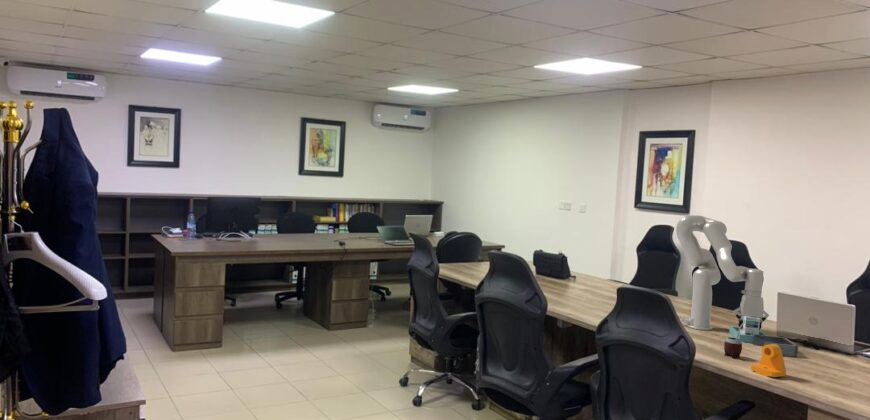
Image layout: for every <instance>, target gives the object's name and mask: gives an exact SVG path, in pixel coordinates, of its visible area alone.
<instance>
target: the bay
mask: <svg viewBox="0 0 870 420" xmlns="http://www.w3.org/2000/svg"><path fill="white" fill-rule="evenodd" d="M767 335H768V334H766V335H757V334H754V339H753V343H752V345H753V346H758V347H760V346H761V347H763V346H764V345H771V344H776V345H778V346H779V347H780V348H781V351H782V355H783V357H790V358H791V357H794V358H798V351H799V345H797V344H796V343H795V342H792V341H791V340H790V339H788V338H787V337H785V336H777V335H775V336H774V335H768V336H767Z"/></svg>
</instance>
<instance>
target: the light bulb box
mask: <svg viewBox="0 0 870 420" xmlns="http://www.w3.org/2000/svg"><path fill="white" fill-rule="evenodd" d="M739 314H740V313H739ZM740 315H741V314H740ZM740 315H739V316H740ZM742 321H743V322H744V324H743V328H742V329H741V330H740V334H743V335H752V336H754V334H757V335H759V326H760V318H758V317H749V316H744V318H743V319H742Z"/></svg>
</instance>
